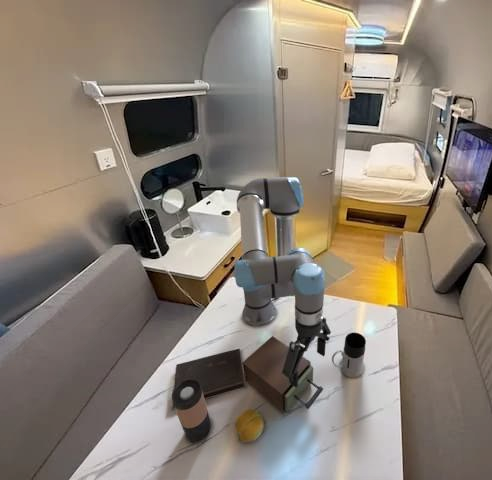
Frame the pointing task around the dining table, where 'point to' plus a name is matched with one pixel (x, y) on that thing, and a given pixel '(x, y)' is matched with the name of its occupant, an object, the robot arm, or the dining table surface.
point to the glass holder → (352, 355)
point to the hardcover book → (213, 373)
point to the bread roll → (249, 425)
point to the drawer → (301, 390)
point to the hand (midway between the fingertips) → (308, 368)
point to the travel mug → (192, 410)
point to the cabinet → (271, 371)
